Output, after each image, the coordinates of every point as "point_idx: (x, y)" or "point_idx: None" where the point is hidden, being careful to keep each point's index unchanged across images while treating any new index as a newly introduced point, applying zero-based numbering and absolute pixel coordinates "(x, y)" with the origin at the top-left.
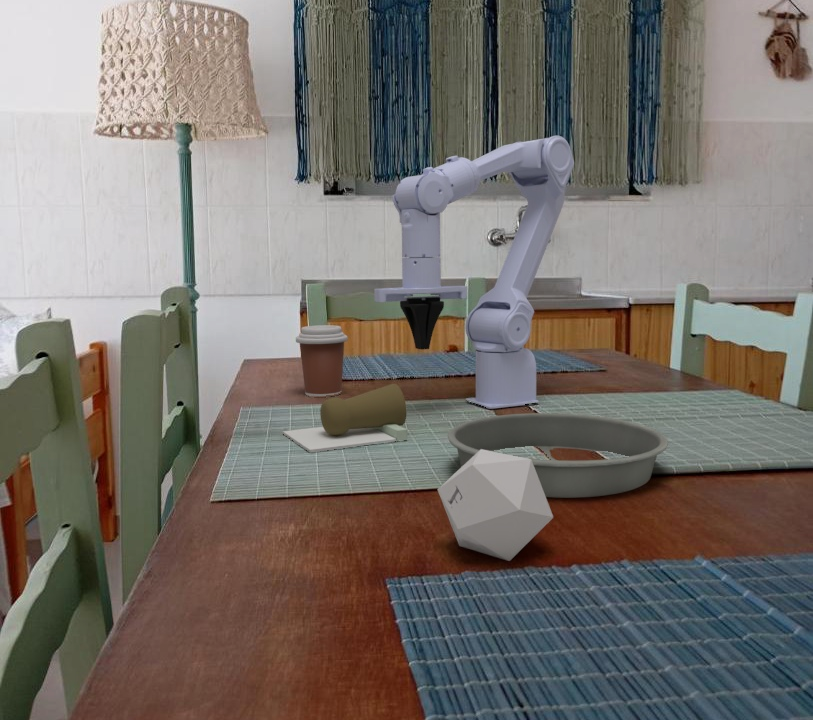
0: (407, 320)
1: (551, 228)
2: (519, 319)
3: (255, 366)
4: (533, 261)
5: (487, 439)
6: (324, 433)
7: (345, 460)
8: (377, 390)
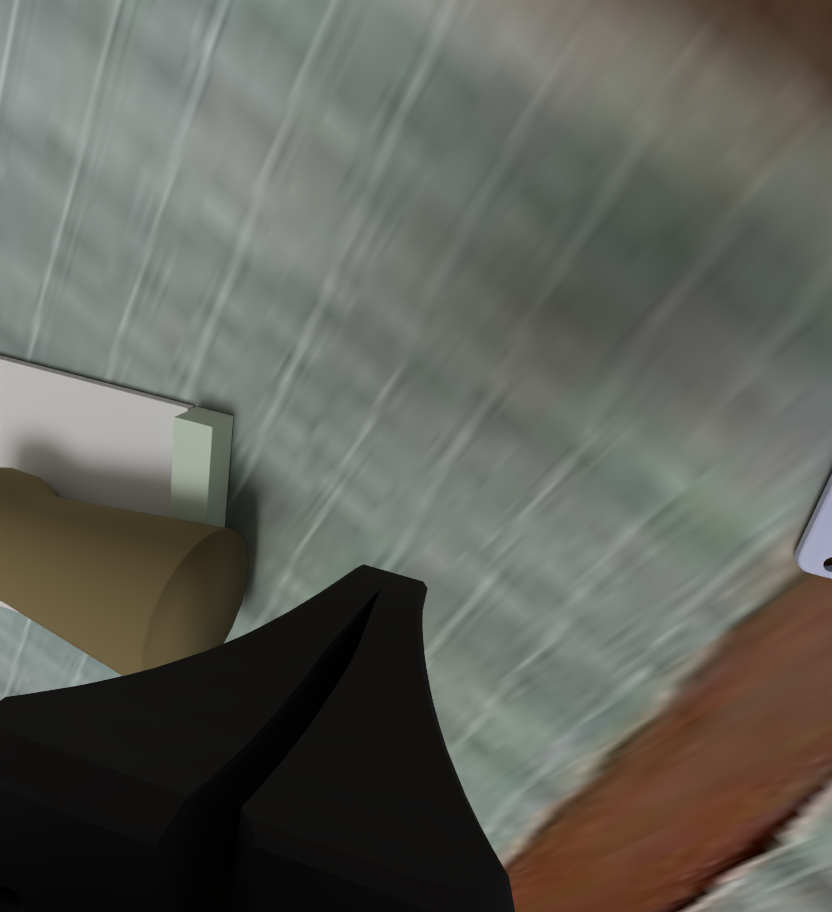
0: (193, 656)
1: None
2: None
3: None
4: None
5: None
6: (24, 460)
7: (9, 689)
8: (73, 636)
